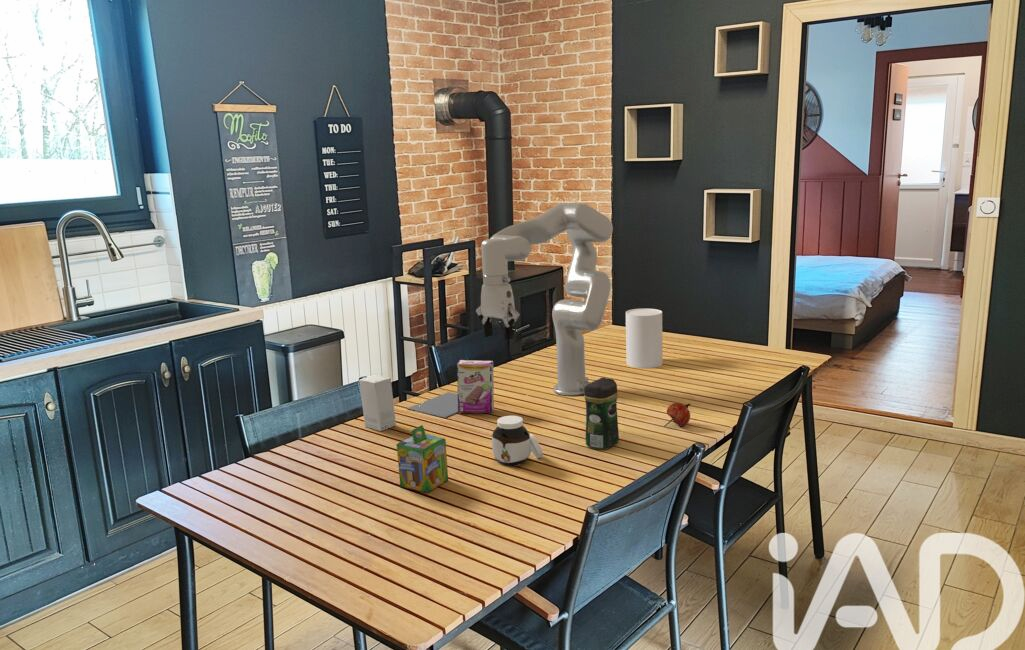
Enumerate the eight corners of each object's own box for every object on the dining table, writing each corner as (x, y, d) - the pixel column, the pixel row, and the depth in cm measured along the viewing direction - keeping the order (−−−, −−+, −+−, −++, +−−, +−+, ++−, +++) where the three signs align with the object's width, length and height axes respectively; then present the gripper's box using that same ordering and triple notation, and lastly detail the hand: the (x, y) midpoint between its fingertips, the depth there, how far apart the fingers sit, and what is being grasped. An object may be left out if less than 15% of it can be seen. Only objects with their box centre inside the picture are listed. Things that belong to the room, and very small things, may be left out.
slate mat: (485, 401, 258) (485, 399, 258) (444, 418, 243) (444, 417, 243) (448, 393, 268) (448, 392, 268) (406, 409, 253) (406, 408, 253)
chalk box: (427, 494, 189) (423, 437, 186) (398, 487, 194) (393, 431, 191) (450, 480, 197) (446, 425, 193) (421, 473, 201) (417, 419, 198)
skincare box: (396, 426, 238) (392, 377, 234) (379, 432, 233) (375, 383, 230) (379, 420, 243) (375, 373, 240) (362, 426, 239) (358, 378, 235)
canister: (626, 358, 301) (625, 308, 297) (661, 358, 299) (661, 308, 295) (626, 368, 288) (625, 316, 284) (663, 368, 286) (663, 315, 282)
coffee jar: (598, 436, 222) (597, 374, 218) (623, 441, 217) (621, 377, 213) (580, 447, 214) (578, 383, 210) (605, 452, 209) (604, 387, 205)
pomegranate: (673, 438, 223) (700, 417, 222) (657, 419, 223) (684, 397, 222) (669, 432, 231) (696, 411, 230) (654, 413, 230) (680, 392, 229)
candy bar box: (457, 413, 246) (456, 364, 242) (460, 408, 251) (458, 359, 247) (492, 414, 245) (491, 364, 241) (494, 408, 250) (493, 360, 246)
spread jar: (488, 461, 207) (486, 420, 205) (517, 448, 215) (515, 408, 213) (521, 472, 199) (519, 429, 197) (549, 458, 207) (548, 417, 205)
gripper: (526, 280, 229) (528, 338, 233) (481, 276, 240) (484, 332, 244) (510, 284, 223) (513, 343, 227) (465, 280, 234) (469, 337, 238)
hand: (498, 337), depth 235 cm, fingers open, 7 cm apart
